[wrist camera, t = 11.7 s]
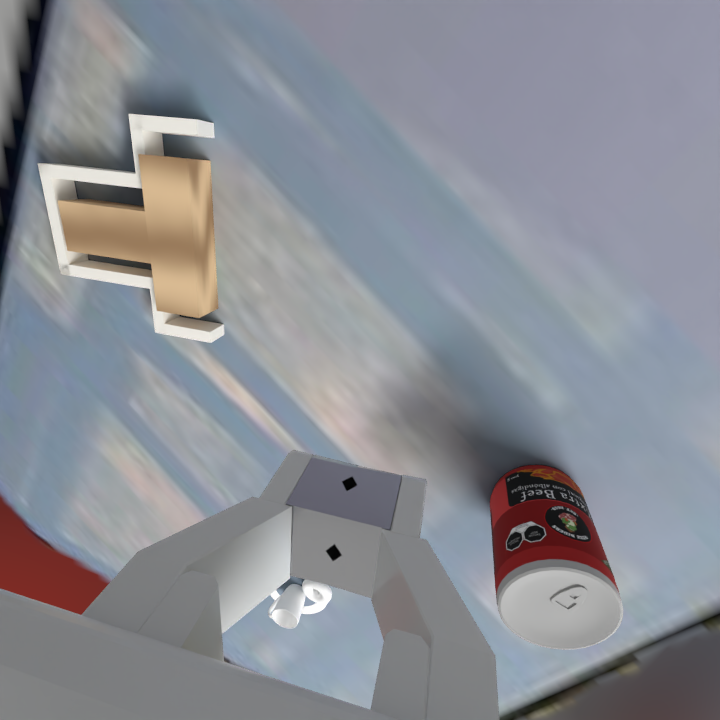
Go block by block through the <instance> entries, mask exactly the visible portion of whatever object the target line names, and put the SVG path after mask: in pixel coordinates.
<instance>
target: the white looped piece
mask: <svg viewBox="0 0 720 720" xmlns="http://www.w3.org/2000/svg"><path fill="white" fill-rule="evenodd" d="M270 595H271V596H272V598H273V599H274V600H275V601H274V602H273V604H272V605H271V606H270V608H269V610H268V615H269V617H270V618H273V620H274V621H275V622H276V623H277V624H278V625H280V626H282V627H284V628H289V629H291V628H295V627H296V626H297V625H298V622H299V619H300V616H301V614H314V613H317V612H319V611H321V610H323V609H324V608H325V606H326V605H327V603H328V602H329V601H330V600H331V596H332V591H331V588H330V587H329V585H326V584H322V583H318V582H314V581H310V580H306V579H305V580H304V581H303V583H302V587H301V586H300V585H298V584H291V585H289V586H288V587H287V588H286V589H285V591H284V592H283V594H282V595H281V596H280V595H279V594H278V593H277V591H276V590H275V591H274V592H273V593H271V594H270ZM305 595H306V596H307V597H308V598H309V599H310V600H312V601H314V602H316V603H315V604H314V605H311V606H307V607H303V606H304V602H305ZM273 609H274V610H273ZM272 610H273V612H272ZM271 612H272V614H271Z"/></svg>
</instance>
